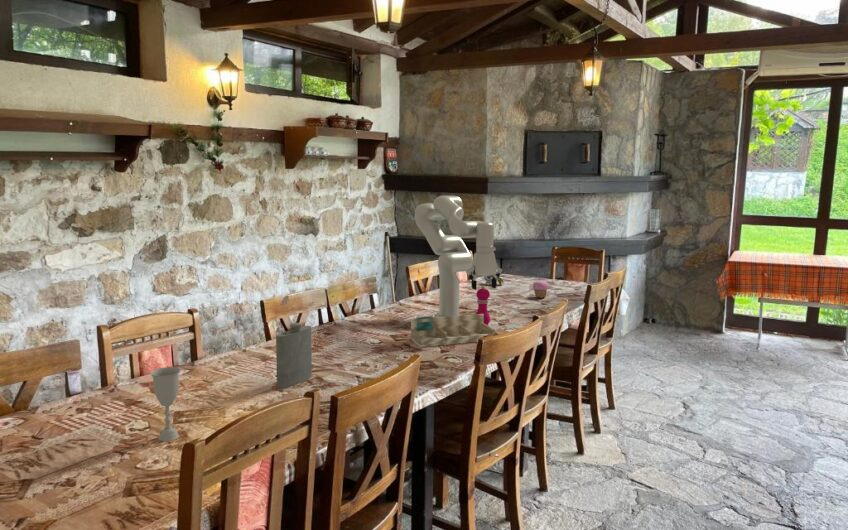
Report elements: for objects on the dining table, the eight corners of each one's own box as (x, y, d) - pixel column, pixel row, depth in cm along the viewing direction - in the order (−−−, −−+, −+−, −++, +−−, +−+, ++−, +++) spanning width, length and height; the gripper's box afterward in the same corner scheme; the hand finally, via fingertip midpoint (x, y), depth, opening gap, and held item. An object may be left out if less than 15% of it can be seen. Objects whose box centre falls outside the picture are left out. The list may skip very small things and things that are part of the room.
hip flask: (306, 374, 219) (305, 318, 216) (315, 376, 217) (315, 319, 214) (274, 387, 205) (273, 327, 202) (284, 390, 203) (283, 329, 200)
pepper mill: (489, 331, 281) (490, 287, 278) (472, 330, 282) (474, 286, 279) (490, 327, 288) (492, 284, 285) (474, 326, 289) (476, 283, 286)
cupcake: (550, 297, 359) (551, 279, 357) (544, 299, 351) (545, 282, 350) (535, 295, 363) (536, 278, 362) (529, 297, 356) (530, 280, 355)
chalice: (173, 429, 172) (170, 365, 169) (188, 435, 168) (185, 370, 165) (148, 438, 166) (145, 372, 163) (163, 445, 162) (160, 377, 159)
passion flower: (488, 293, 394) (478, 277, 395) (496, 288, 402) (486, 272, 403) (501, 285, 387) (490, 269, 388) (509, 280, 395) (498, 264, 396)
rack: (420, 347, 255) (421, 324, 253) (410, 339, 266) (411, 317, 264) (494, 340, 267) (495, 318, 265) (482, 333, 278) (482, 312, 276)
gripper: (498, 248, 286) (497, 286, 288) (463, 250, 280) (462, 288, 282) (506, 250, 279) (505, 288, 282) (470, 251, 273) (469, 291, 275)
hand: (484, 288), depth 282 cm, fingers open, 9 cm apart
